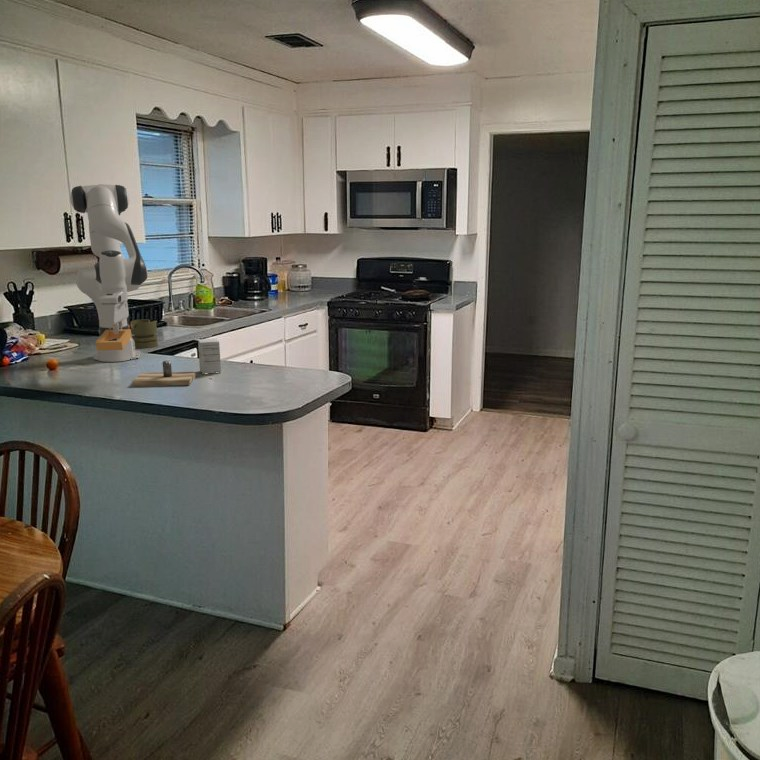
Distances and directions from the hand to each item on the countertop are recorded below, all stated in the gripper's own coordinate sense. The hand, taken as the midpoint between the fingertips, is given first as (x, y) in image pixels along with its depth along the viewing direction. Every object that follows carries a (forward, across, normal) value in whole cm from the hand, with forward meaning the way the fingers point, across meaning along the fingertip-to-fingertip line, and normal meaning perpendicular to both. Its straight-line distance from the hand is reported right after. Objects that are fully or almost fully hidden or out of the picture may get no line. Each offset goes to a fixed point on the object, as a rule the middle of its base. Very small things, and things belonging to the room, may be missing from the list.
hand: (118, 333), depth 262 cm
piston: (+17, -68, -8) cm, 70 cm away
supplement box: (+17, -8, +31) cm, 37 cm away
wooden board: (+17, +7, +17) cm, 25 cm away
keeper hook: (+15, +7, +18) cm, 25 cm away
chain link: (+3, +5, 0) cm, 6 cm away
